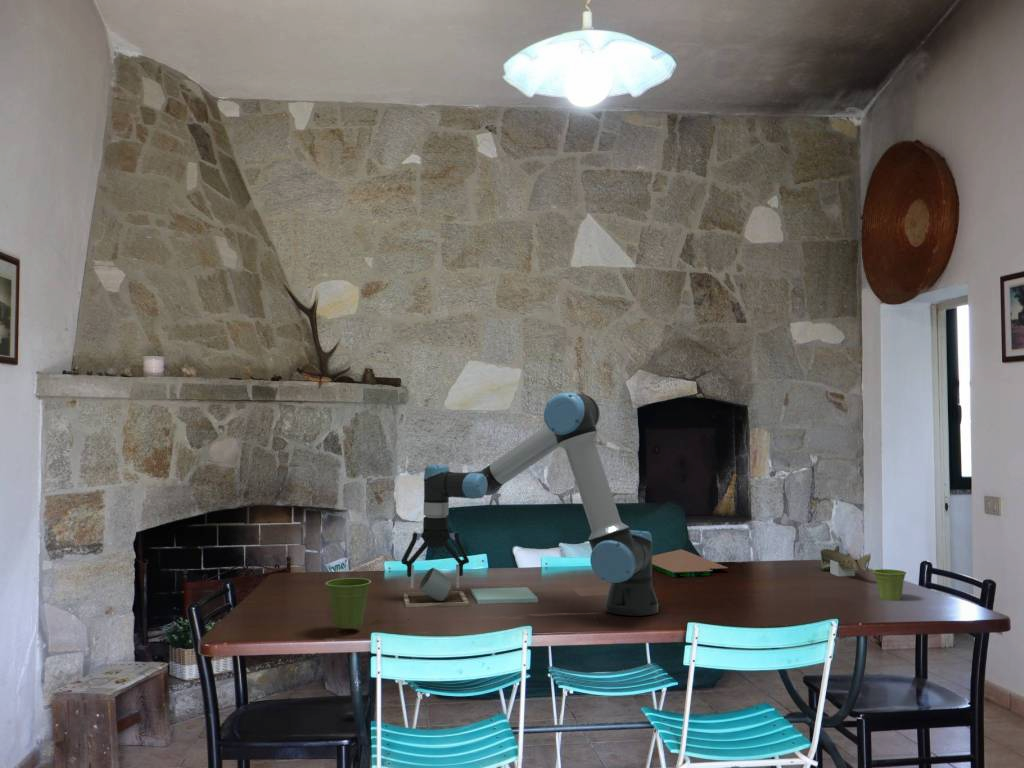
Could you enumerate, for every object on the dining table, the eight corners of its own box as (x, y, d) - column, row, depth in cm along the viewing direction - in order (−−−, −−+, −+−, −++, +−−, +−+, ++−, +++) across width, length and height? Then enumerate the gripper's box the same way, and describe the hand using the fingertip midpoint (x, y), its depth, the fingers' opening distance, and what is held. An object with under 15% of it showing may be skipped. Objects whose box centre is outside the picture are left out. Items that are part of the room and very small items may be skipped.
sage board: (537, 602, 262) (537, 598, 262) (477, 603, 259) (477, 599, 259) (527, 591, 280) (527, 587, 280) (470, 592, 277) (470, 588, 277)
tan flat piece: (693, 564, 339) (693, 543, 339) (734, 579, 306) (734, 555, 307) (637, 566, 333) (637, 545, 334) (673, 581, 301) (672, 557, 302)
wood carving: (856, 589, 286) (856, 554, 287) (811, 571, 321) (811, 540, 322) (883, 588, 287) (882, 554, 288) (835, 571, 322) (835, 540, 322)
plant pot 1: (330, 619, 237) (331, 577, 237) (374, 620, 236) (375, 578, 237) (319, 629, 225) (320, 585, 225) (365, 630, 225) (366, 585, 225)
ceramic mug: (440, 607, 261) (455, 588, 259) (417, 594, 259) (431, 575, 258) (442, 588, 271) (456, 570, 269) (420, 575, 269) (433, 557, 268)
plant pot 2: (874, 601, 265) (873, 572, 265) (872, 596, 274) (872, 568, 274) (908, 604, 262) (907, 574, 262) (905, 598, 271) (905, 570, 271)
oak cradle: (469, 605, 257) (469, 602, 257) (405, 607, 254) (405, 604, 254) (462, 593, 275) (462, 591, 275) (403, 595, 272) (403, 592, 272)
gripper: (475, 514, 271) (474, 584, 270) (393, 515, 267) (392, 585, 266) (478, 517, 264) (477, 588, 263) (394, 517, 260) (393, 590, 259)
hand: (434, 587), depth 264 cm, fingers open, 13 cm apart
